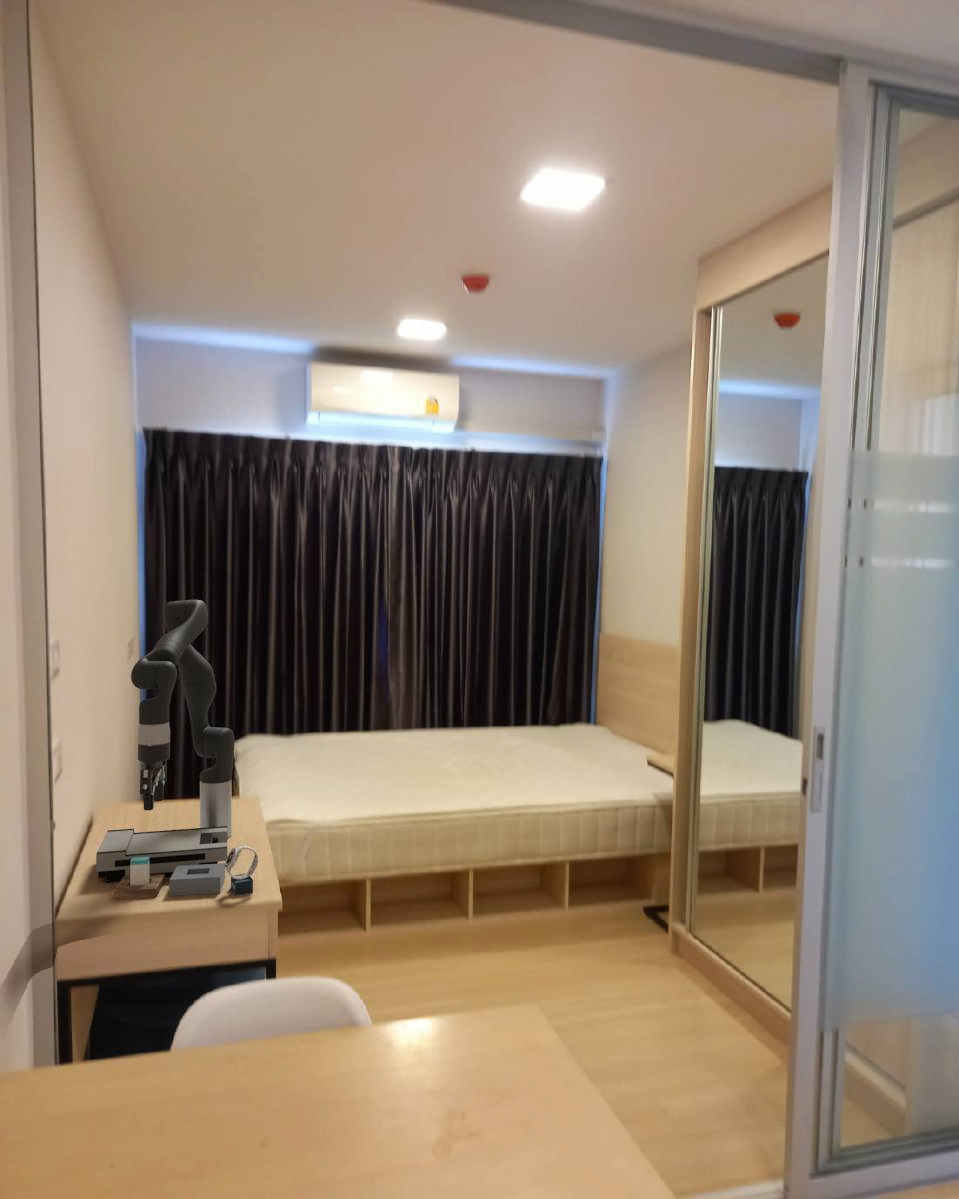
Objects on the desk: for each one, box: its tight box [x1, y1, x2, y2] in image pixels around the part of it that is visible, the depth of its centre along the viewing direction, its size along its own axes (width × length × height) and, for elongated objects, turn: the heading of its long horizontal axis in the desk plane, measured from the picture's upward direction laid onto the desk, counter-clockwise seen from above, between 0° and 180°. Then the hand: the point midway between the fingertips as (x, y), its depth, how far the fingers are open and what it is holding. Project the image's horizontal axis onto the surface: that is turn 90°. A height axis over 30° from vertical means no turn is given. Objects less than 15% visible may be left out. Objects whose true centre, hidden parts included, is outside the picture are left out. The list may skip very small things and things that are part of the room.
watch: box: [224, 844, 259, 896], centre depth 206 cm, size 6×8×11 cm
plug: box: [130, 857, 149, 886], centre depth 205 cm, size 3×4×8 cm, turn 101°
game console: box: [95, 826, 228, 884], centre depth 223 cm, size 21×32×8 cm, turn 107°
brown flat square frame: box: [113, 874, 166, 900], centre depth 205 cm, size 10×10×2 cm
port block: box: [169, 862, 226, 897], centre depth 208 cm, size 10×12×4 cm
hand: (153, 805), depth 205 cm, fingers open, 8 cm apart
